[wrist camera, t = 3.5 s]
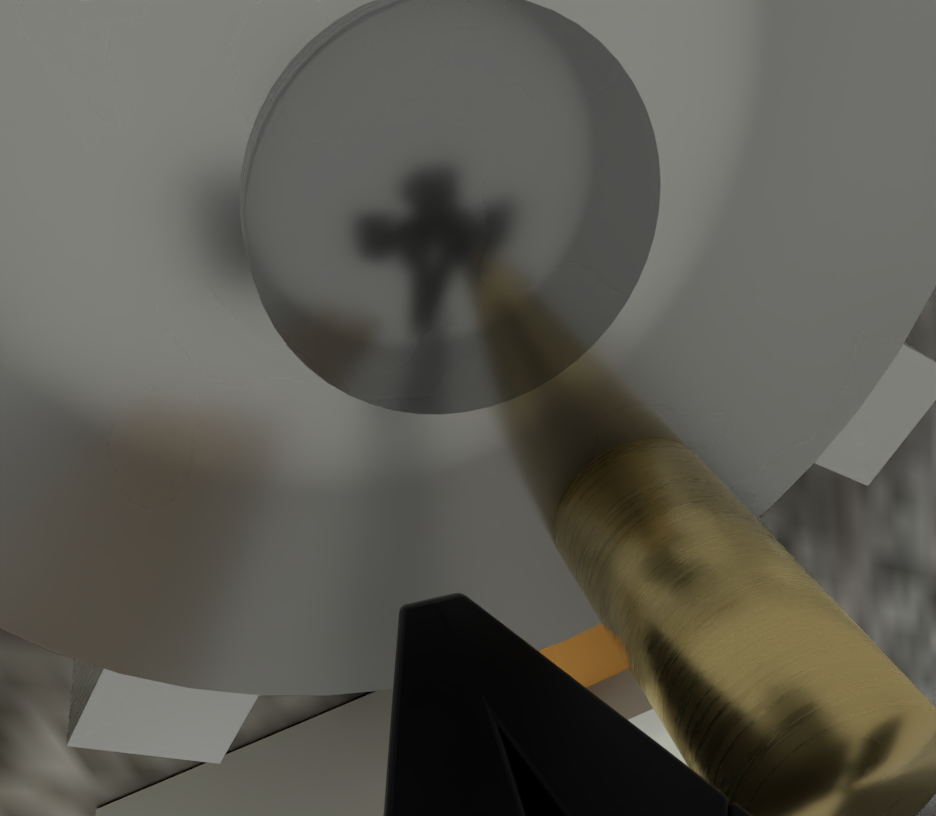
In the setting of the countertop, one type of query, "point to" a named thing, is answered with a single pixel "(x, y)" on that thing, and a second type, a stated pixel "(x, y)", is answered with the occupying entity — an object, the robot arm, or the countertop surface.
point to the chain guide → (327, 764)
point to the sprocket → (463, 355)
